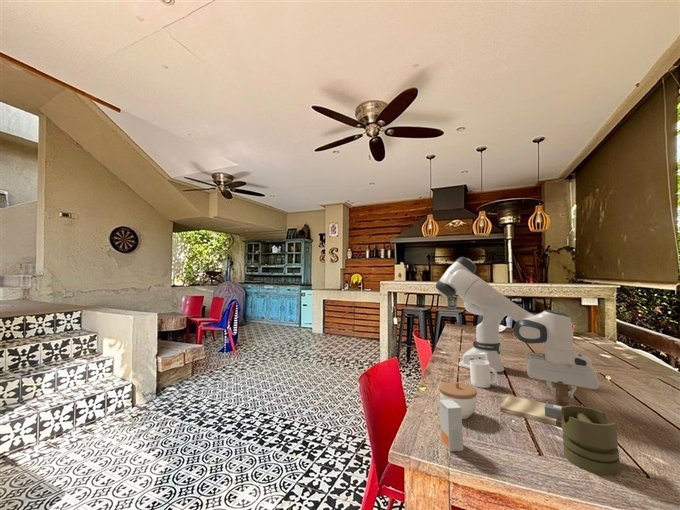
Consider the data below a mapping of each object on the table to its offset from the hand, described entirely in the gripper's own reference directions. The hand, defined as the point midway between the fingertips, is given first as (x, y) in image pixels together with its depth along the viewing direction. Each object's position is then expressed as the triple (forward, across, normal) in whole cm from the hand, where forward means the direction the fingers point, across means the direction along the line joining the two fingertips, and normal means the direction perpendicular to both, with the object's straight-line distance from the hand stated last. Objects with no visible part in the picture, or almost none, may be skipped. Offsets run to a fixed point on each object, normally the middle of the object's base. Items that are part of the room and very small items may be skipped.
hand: (562, 395), depth 103 cm
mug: (+7, -29, +12) cm, 32 cm away
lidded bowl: (+7, -29, -23) cm, 38 cm away
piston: (+7, +7, -28) cm, 30 cm away
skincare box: (+7, -24, -44) cm, 51 cm away
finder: (+5, -2, -7) cm, 9 cm away
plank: (+7, -6, -4) cm, 10 cm away
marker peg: (+4, 0, 0) cm, 4 cm away
